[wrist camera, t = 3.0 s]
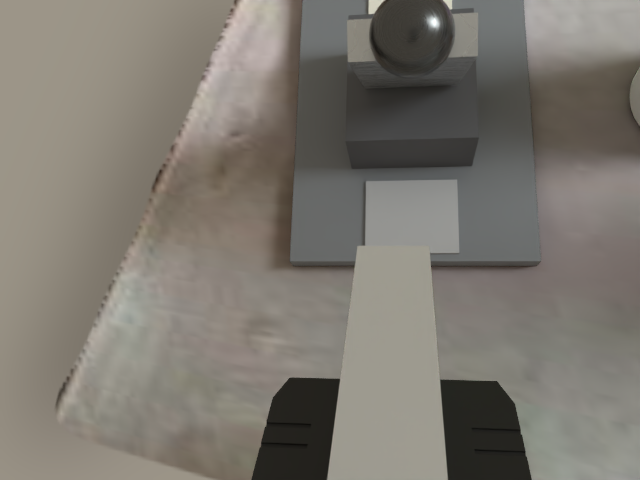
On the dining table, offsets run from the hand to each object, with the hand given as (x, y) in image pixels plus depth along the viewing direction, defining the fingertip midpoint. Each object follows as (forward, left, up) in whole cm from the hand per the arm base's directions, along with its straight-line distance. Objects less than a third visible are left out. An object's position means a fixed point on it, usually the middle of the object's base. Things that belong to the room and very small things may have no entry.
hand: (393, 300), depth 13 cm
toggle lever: (-10, -16, -21) cm, 28 cm away
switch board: (-10, -16, -27) cm, 32 cm away
